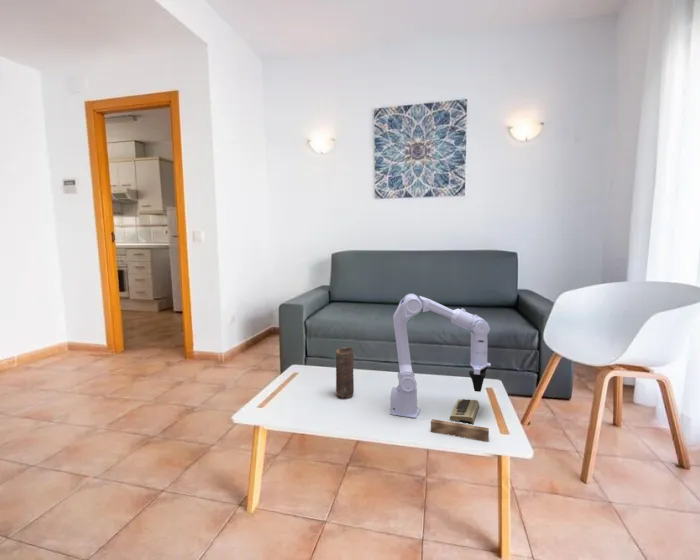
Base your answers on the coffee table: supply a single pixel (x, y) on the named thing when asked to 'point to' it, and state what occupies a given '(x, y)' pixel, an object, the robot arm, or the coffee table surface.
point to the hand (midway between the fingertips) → (478, 387)
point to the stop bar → (460, 430)
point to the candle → (344, 372)
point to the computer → (465, 411)
